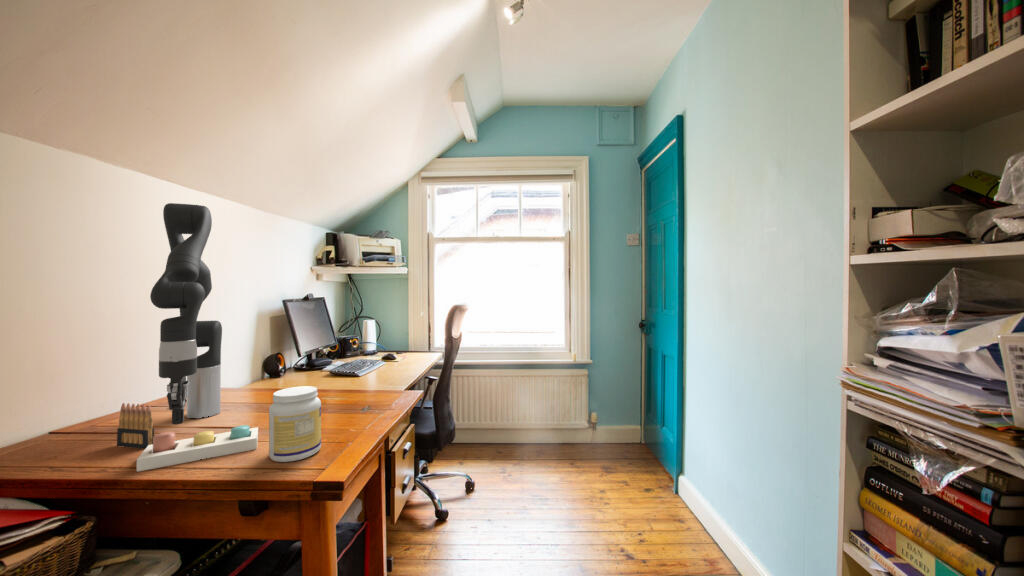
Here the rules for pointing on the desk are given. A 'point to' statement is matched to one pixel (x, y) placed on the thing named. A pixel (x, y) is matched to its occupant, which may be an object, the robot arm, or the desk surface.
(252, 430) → the panel
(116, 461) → the desk surface
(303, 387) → the supplement tub
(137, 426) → the ammunition clip
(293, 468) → the desk surface
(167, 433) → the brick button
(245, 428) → the teal button
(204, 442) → the ochre button
